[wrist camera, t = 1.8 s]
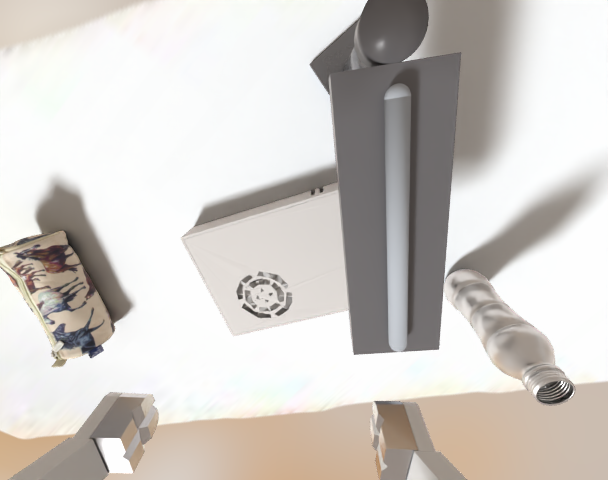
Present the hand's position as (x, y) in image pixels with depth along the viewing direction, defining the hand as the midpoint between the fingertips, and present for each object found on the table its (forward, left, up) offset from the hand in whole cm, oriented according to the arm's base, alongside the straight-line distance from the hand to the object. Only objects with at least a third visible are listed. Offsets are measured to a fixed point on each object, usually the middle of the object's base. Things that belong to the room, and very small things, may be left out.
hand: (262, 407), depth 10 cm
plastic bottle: (-11, +27, -33) cm, 44 cm away
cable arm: (-8, +2, -17) cm, 19 cm away
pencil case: (+41, -11, -34) cm, 54 cm away
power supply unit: (+5, +8, -34) cm, 35 cm away
